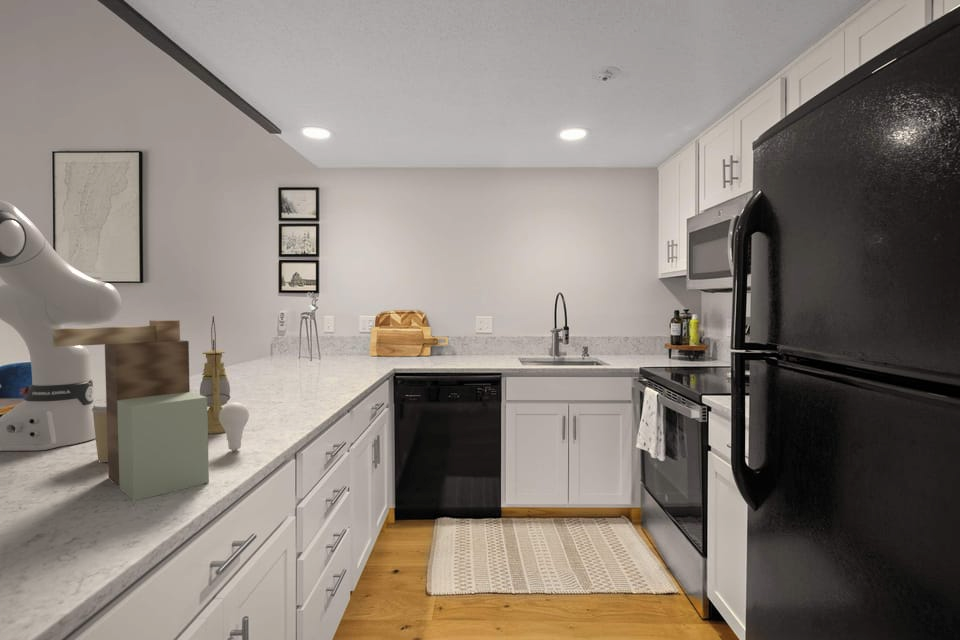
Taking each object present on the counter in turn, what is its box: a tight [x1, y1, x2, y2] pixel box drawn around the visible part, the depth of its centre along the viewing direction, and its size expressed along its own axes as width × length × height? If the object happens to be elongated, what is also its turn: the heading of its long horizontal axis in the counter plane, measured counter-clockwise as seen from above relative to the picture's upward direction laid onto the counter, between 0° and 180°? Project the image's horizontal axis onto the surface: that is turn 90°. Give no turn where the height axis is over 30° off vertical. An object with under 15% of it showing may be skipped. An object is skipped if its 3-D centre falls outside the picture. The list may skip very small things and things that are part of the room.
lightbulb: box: [219, 401, 250, 452], centre depth 117 cm, size 6×6×11 cm
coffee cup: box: [92, 400, 108, 463], centre depth 113 cm, size 9×9×12 cm
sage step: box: [117, 391, 210, 501], centre depth 95 cm, size 12×9×16 cm
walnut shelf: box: [104, 339, 191, 489], centre depth 101 cm, size 12×8×26 cm, turn 137°
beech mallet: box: [53, 319, 181, 347], centre depth 97 cm, size 19×4×4 cm, turn 137°
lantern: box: [199, 315, 231, 435], centre depth 136 cm, size 12×10×30 cm
